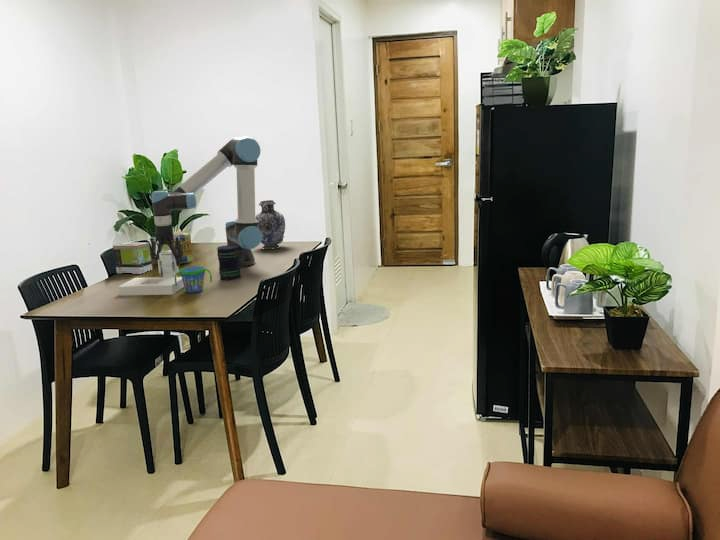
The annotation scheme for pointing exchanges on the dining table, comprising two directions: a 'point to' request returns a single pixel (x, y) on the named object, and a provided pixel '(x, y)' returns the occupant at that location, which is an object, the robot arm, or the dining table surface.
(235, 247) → the storage jar
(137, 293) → the flat white box
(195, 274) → the snack cup
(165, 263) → the syrup box
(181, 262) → the protein box
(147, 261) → the tea box
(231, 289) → the dining table surface
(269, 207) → the decorative vase
